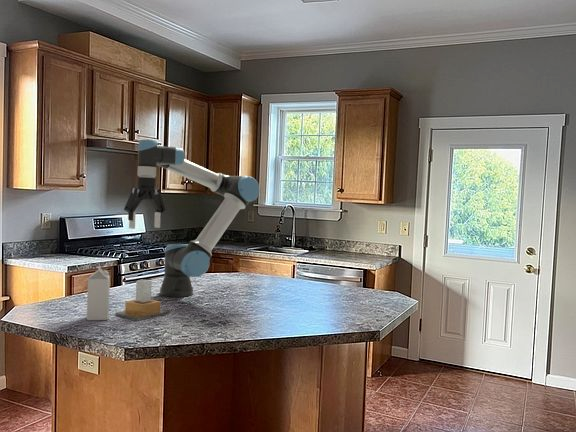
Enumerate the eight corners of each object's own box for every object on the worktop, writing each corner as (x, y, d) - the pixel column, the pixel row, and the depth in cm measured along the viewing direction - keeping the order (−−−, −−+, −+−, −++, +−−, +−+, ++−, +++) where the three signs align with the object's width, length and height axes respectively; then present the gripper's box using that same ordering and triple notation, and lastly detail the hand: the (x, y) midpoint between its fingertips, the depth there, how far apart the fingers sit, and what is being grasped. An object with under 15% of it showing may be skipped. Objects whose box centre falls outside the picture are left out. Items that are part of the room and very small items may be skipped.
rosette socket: (147, 308, 210) (148, 296, 210) (169, 313, 204) (169, 300, 204) (115, 315, 197) (115, 302, 197) (137, 320, 190) (137, 307, 190)
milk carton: (86, 320, 187) (88, 268, 186) (88, 316, 194) (90, 265, 193) (107, 320, 189) (109, 268, 188) (108, 315, 196) (110, 265, 195)
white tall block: (143, 310, 203) (144, 279, 203) (150, 311, 201) (151, 280, 200) (135, 311, 200) (136, 280, 199) (142, 313, 198) (143, 282, 197)
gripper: (162, 178, 230) (160, 226, 231) (116, 175, 209) (114, 228, 210) (175, 178, 226) (173, 227, 227) (128, 175, 205) (127, 229, 206)
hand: (144, 228), depth 218 cm, fingers open, 13 cm apart
